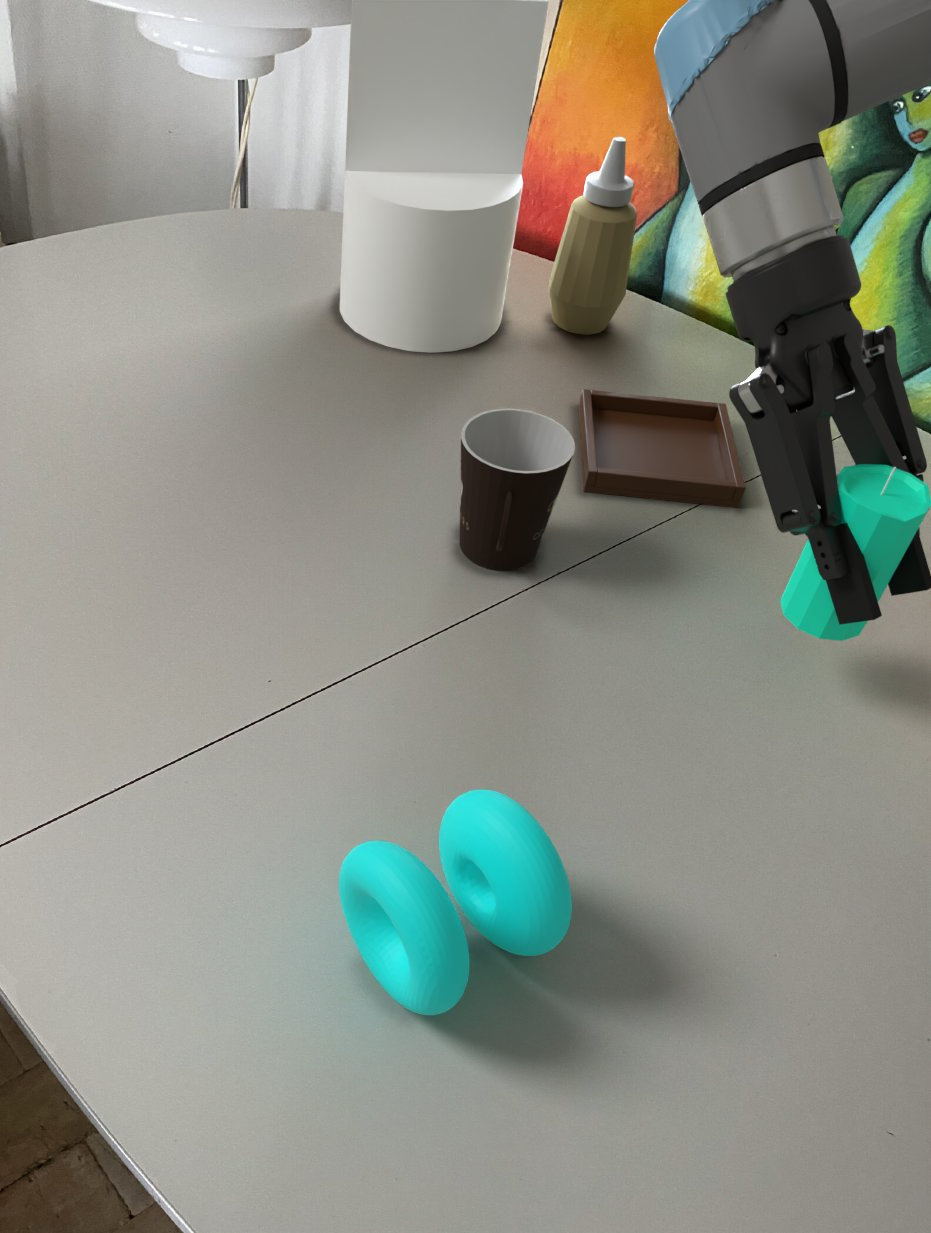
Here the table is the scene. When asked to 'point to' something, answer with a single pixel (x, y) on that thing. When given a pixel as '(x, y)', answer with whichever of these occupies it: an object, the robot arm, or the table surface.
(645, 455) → the walnut tray
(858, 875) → the table surface
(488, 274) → the cylinder
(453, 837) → the donuts
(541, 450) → the coffee mug
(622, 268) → the squeeze bottle
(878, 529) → the candle
